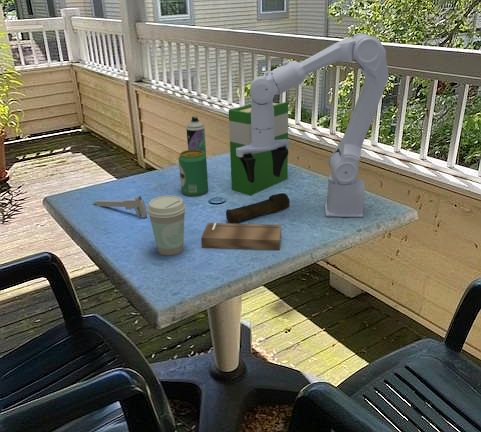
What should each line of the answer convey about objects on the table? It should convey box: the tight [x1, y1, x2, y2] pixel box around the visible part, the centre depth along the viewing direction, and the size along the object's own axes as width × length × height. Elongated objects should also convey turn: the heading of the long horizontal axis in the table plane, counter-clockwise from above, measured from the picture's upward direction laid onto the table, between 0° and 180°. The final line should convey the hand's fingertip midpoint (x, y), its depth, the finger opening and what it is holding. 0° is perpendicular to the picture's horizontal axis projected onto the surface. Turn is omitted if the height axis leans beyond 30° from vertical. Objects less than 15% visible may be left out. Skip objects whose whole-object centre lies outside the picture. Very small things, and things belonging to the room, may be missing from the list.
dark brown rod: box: [225, 192, 290, 224], centre depth 127 cm, size 19×4×5 cm, turn 118°
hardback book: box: [228, 101, 289, 197], centre depth 143 cm, size 18×7×24 cm, turn 137°
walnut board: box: [200, 222, 282, 251], centre depth 114 cm, size 18×8×3 cm, turn 83°
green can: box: [178, 149, 209, 197], centre depth 142 cm, size 8×8×12 cm
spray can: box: [186, 115, 209, 179], centre depth 150 cm, size 6×6×20 cm
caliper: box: [92, 195, 148, 219], centre depth 132 cm, size 20×1×6 cm, turn 57°
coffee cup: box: [146, 195, 187, 256], centre depth 109 cm, size 8×9×12 cm
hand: (263, 178), depth 125 cm, fingers open, 7 cm apart
